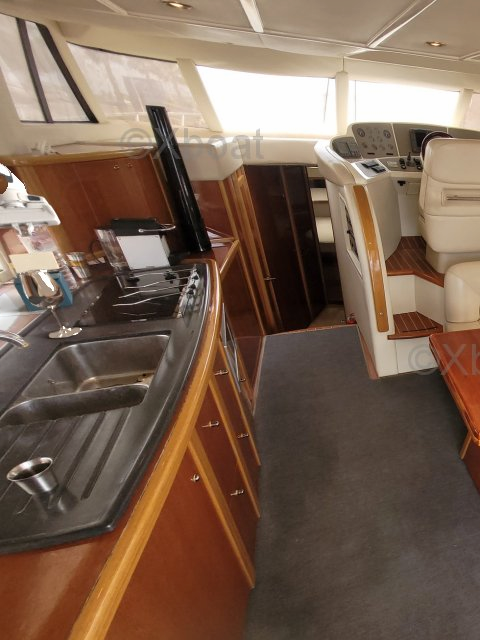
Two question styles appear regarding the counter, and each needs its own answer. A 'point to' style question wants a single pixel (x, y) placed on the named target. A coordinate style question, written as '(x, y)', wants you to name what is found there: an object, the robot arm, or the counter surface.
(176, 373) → the counter surface
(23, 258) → the flap
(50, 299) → the wineglass
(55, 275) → the tote
